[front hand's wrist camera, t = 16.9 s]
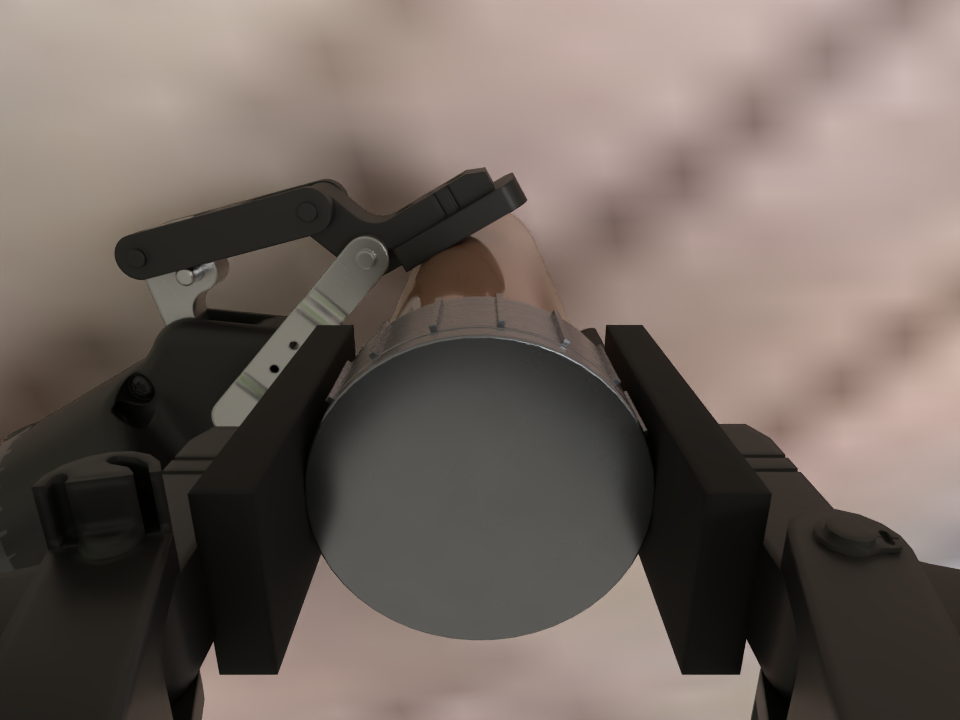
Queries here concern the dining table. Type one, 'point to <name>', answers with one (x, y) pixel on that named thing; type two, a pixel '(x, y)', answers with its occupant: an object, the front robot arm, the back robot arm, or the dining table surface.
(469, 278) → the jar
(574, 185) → the dining table surface
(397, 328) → the lid
